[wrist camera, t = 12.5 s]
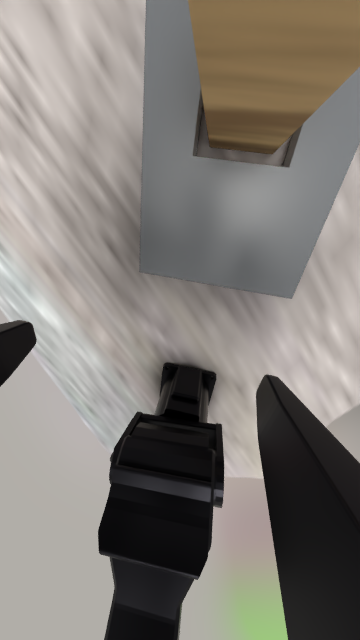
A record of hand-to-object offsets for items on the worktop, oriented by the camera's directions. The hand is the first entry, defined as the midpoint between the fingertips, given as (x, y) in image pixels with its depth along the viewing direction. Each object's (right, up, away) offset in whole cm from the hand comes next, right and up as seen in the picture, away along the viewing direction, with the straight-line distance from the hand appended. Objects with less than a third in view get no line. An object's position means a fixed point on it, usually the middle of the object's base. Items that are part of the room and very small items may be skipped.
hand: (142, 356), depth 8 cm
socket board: (+6, +12, +7) cm, 15 cm away
